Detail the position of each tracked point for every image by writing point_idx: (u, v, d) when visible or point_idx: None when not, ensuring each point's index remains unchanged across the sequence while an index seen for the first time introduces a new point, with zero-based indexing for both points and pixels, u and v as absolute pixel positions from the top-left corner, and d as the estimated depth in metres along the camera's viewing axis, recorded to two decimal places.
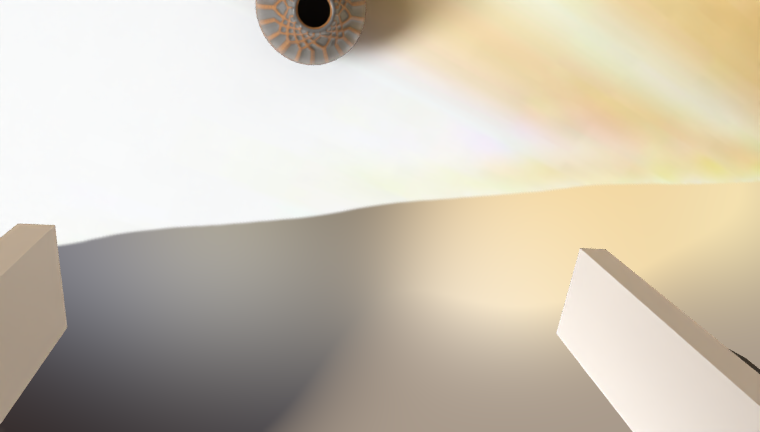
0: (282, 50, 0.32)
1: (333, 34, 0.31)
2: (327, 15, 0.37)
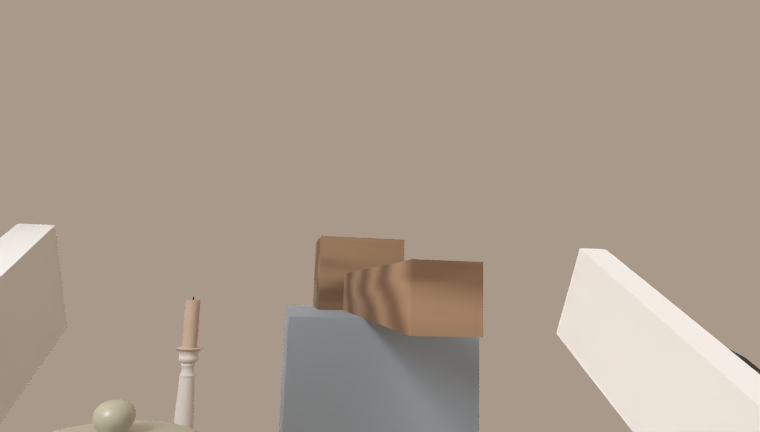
0: None
1: None
2: None
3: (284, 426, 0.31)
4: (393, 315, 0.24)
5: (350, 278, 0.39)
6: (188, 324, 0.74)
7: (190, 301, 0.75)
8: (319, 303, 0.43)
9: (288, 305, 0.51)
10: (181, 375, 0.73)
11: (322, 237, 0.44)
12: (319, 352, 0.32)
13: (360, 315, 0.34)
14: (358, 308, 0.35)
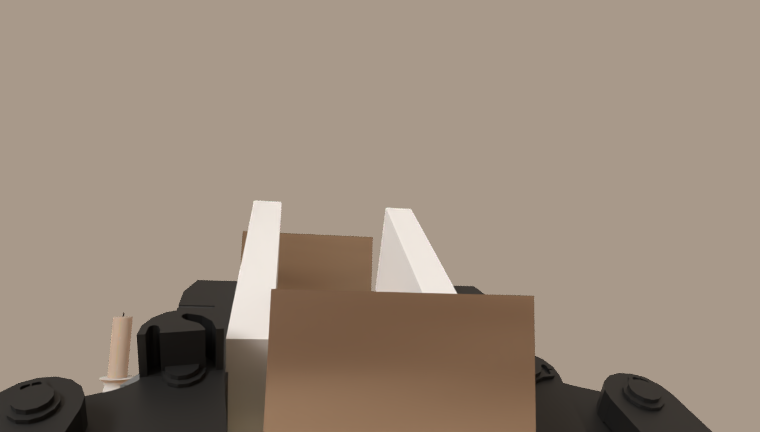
0: None
1: None
2: None
3: None
4: None
5: None
6: (115, 347, 0.59)
7: (118, 318, 0.59)
8: None
9: None
10: None
11: (244, 233, 0.28)
12: None
13: None
14: None
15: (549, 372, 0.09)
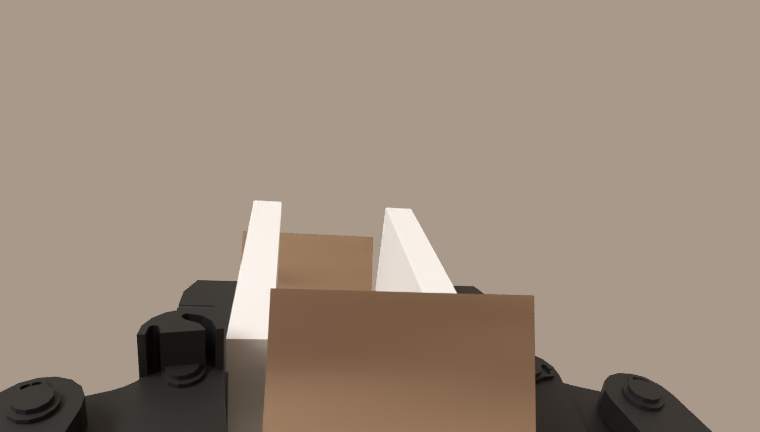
0: None
1: None
2: None
3: None
4: None
5: None
6: None
7: None
8: None
9: None
10: None
11: (244, 233, 0.28)
12: None
13: None
14: None
15: (549, 372, 0.09)
